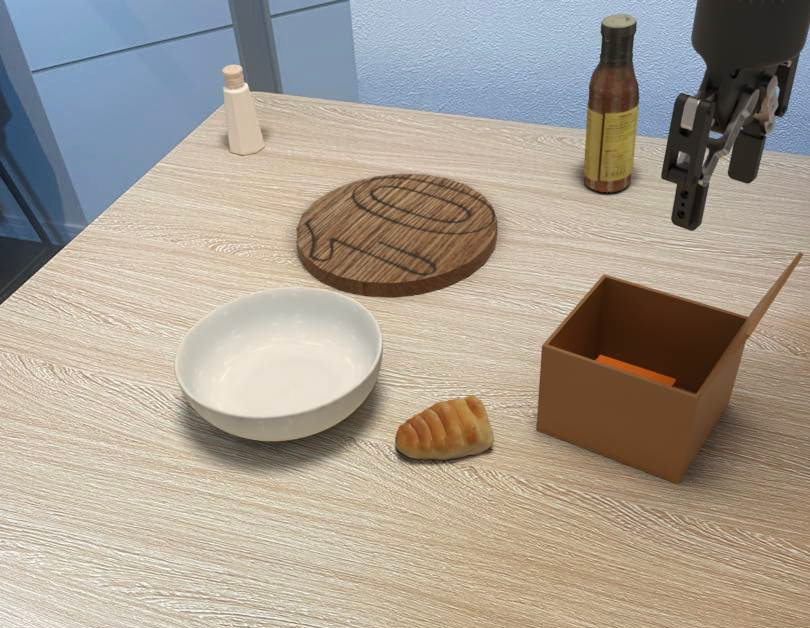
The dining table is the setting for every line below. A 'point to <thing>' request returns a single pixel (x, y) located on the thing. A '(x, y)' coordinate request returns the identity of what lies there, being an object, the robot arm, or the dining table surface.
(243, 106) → the pepper shaker
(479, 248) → the trivet
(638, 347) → the carton
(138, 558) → the dining table surface
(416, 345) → the dining table surface
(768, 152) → the dining table surface
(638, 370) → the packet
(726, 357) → the flap
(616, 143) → the sauce bottle
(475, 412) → the pastry
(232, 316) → the serving bowl
